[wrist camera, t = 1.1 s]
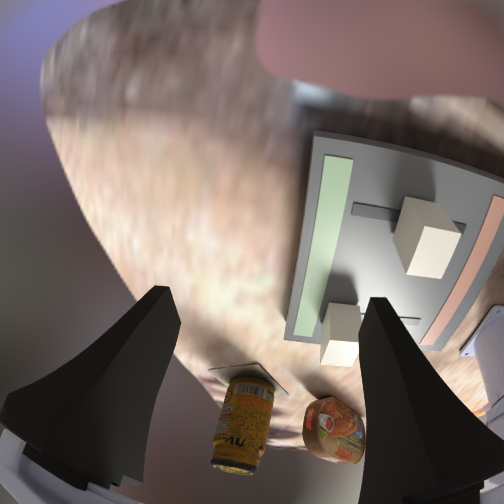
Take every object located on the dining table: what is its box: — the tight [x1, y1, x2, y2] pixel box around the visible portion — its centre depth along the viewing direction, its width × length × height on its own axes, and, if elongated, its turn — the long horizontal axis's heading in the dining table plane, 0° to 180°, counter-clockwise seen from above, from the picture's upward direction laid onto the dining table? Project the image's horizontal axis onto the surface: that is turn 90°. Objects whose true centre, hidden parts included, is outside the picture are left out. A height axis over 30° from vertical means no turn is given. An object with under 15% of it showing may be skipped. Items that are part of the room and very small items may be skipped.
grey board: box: [284, 130, 504, 351], centre depth 19 cm, size 16×17×2 cm
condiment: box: [208, 364, 289, 475], centre depth 29 cm, size 7×8×12 cm
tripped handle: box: [392, 196, 461, 279], centre depth 14 cm, size 2×3×4 cm
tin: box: [302, 397, 366, 464], centre depth 32 cm, size 15×3×8 cm, turn 41°
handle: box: [320, 303, 362, 367], centre depth 20 cm, size 2×3×4 cm
